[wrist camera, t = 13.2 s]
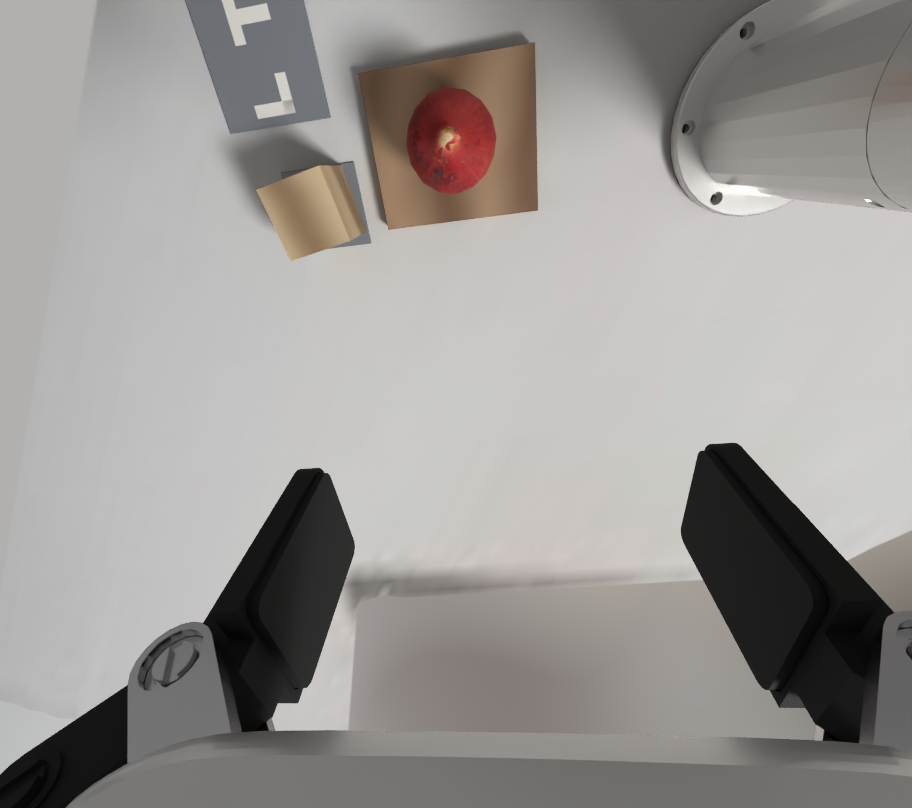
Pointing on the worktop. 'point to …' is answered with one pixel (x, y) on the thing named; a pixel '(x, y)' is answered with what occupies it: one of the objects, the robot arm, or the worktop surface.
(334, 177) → the oak block
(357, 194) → the code tile
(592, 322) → the worktop surface
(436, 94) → the onion
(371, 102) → the board
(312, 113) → the tile
